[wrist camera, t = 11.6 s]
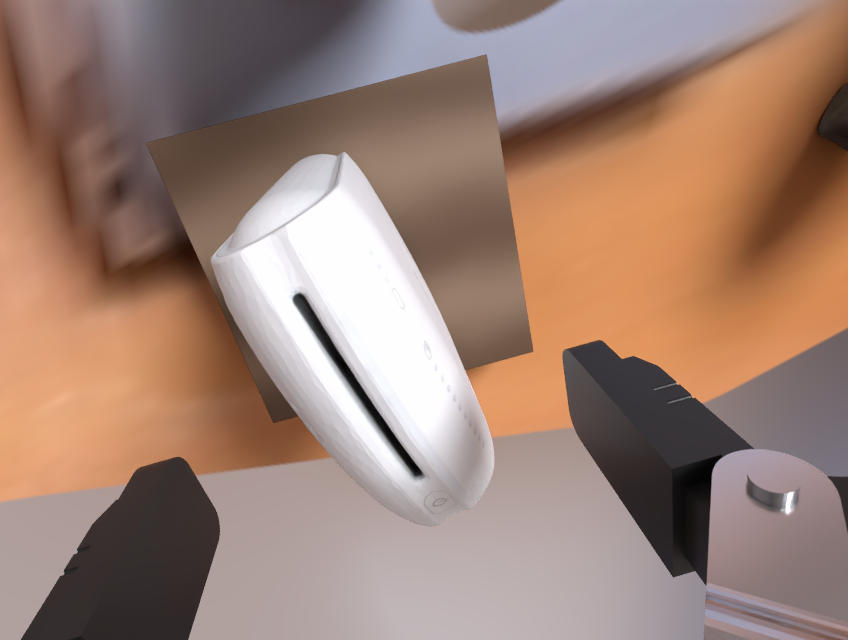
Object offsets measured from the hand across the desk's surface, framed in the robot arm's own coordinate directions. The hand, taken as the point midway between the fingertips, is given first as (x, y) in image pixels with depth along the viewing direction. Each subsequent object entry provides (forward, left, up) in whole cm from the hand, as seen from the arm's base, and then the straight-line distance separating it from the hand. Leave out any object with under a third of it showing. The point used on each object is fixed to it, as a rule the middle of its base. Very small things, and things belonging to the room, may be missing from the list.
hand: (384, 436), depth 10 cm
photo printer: (0, 0, -13) cm, 13 cm away
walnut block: (0, 0, -17) cm, 17 cm away
